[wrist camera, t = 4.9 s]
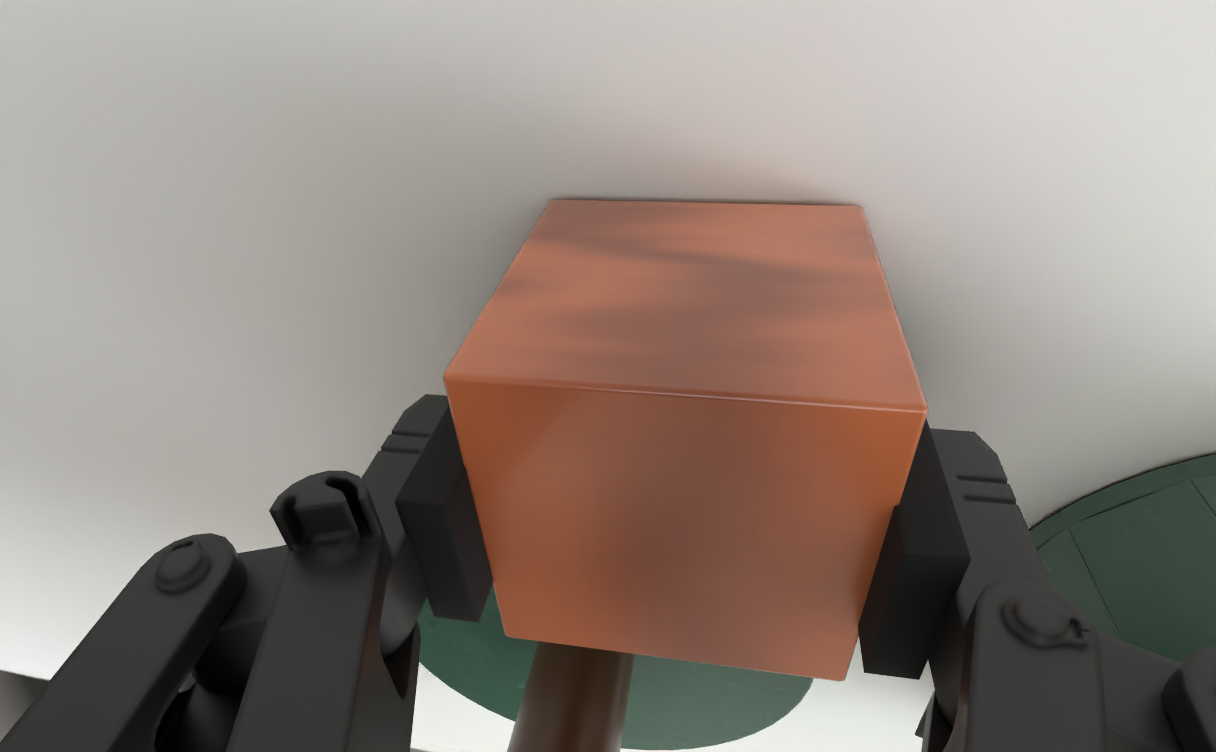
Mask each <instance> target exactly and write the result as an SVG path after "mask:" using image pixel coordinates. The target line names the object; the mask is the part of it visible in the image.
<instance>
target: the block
mask: <svg viewBox="0 0 1216 752" xmlns="http://www.w3.org/2000/svg"><path fill="white" fill-rule="evenodd" d="M443 381H444V385H445V389H446V393H447V397H448V401H449V406H450V410H451V414H452V418H453V422H454V426H455V430H456V434H457V439H458V443H459V447H460V451H461V455H462V459H463V463H464V466H465V468H466V472H467V476H468V480H469V484H470V488H471V493H472V497H473V501H474V505H475V509H476V513H477V517H478V522H479V526H480V530H481V534H482V538H483V542H484V546H485V551H486V555H487V559H488V563H489V567H490V571H491V575H492V580H493V587H494V592H495V596H496V600H497V604H498V608H499V612H500V616H501V620H502V625H503V629H504V633H505V635H506V636H508V637H512V638H520V639H527V640H535V641H542V642H550V643H557V644H565V645H572V646H580V647H587V648H595V649H602V650H610V651H617V652H625V653H632V654H639V655H647V656H654V657H662V658H669V659H677V660H684V661H692V662H699V663H707V664H714V665H722V666H729V667H737V668H744V669H752V670H759V671H767V672H774V673H782V674H789V675H797V676H804V677H812V678H819V679H827V680H834V681H844V680H845V678H846V675H847V671H848V668H849V665H850V662H851V659H852V655H853V652H854V649H855V646H856V642H857V639H858V636H859V632H858V624H859V621H860V618H861V614H862V611H863V608H864V604H865V601H866V598H867V594H868V591H869V588H870V585H871V581H872V578H873V575H874V571H875V568H876V565H877V561H878V558H879V555H880V552H881V548H882V545H883V542H884V538H885V535H886V532H887V528H888V525H889V522H890V518H891V515H892V512H893V509H894V506H897V505H899V503H900V500H901V497H902V494H903V490H904V487H905V484H906V481H907V478H908V474H909V471H910V468H911V465H912V461H913V458H914V455H915V452H916V448H917V445H918V442H919V439H920V435H921V432H922V429H923V426H924V423H925V419H926V416H927V413H928V406H927V403H926V400H925V397H924V394H923V391H922V388H921V385H920V382H919V379H918V376H917V373H916V370H915V367H914V363H913V360H912V357H911V354H910V351H909V348H908V345H907V342H906V339H905V336H904V333H903V330H902V327H901V324H900V321H899V318H898V315H897V312H896V309H895V306H894V303H893V300H892V296H891V293H890V290H889V287H888V284H887V281H886V278H885V275H884V272H883V269H882V266H881V263H880V260H879V257H878V254H877V251H876V248H875V245H874V242H873V239H872V236H871V233H870V229H869V226H868V223H867V220H866V217H865V214H864V211H863V208H862V207H860V206H830V205H784V204H738V203H692V202H646V201H600V200H551V201H549V203H548V205H547V206H546V208H545V210H544V211H543V213H542V214H541V216H540V218H539V219H538V221H537V223H536V224H535V226H534V228H533V229H532V231H531V232H530V234H529V236H528V237H527V239H526V241H525V242H524V244H523V245H522V247H521V249H520V250H519V252H518V254H517V255H516V257H515V258H514V260H513V262H512V263H511V265H510V267H509V268H508V270H507V271H506V273H505V275H504V276H503V278H502V280H501V281H500V283H499V284H498V286H497V288H496V289H495V291H494V293H493V294H492V296H491V297H490V299H489V301H488V302H487V304H486V306H485V307H484V309H483V310H482V312H481V314H480V315H479V317H478V319H477V320H476V322H475V323H474V325H473V327H472V328H471V330H470V332H469V333H468V335H467V336H466V338H465V340H464V341H463V343H462V345H461V346H460V348H459V350H458V351H457V353H456V354H455V356H454V358H453V359H452V361H451V363H450V364H449V366H448V367H447V369H446V371H445V372H444V376H443Z"/></svg>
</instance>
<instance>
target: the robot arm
mask: <svg viewBox="0 0 1216 752" xmlns="http://www.w3.org/2000/svg"><path fill="white" fill-rule="evenodd" d="M381 448H382V449H381V451H378V453H377V455H376V456H375V458H374V459H373V461H372V462H371V464H370V466H369V467H368V469H367V470H366V472H365V473H364V475H363V476H362V478H360V477H359V476H357V475H355V474H352V473H349V472H347V471H325V472H321V473H318V474H314V475H310V476H308V477H306V478H304V479H302V480H300V481H298V482H296V483H294V484H292V485H291V486H290V487H289V488H287V489H286V490H285V491H284V492H283V493H282V494H280V495H279V496H278V497H277V499H276V501H275V502H274V504H273V505H272V507H271V509H270V510H269V511H270V513H271V515H272V517H273V519H274V521H275V523H276V525H277V527H278V529H279V531H280V533H281V535H282V537H283V539H284V541H285V542H286V544H287V545H284V546H279V547H273V548H267V549H261V550H255V551H249V552H243V553H237V552H236V550H235V549H234V547H233V545H232V544H231V543H230V542H229V541H228V540H227V539H226V538H225V537H223V536H219V535H215V534H212V533H209V534H199V535H192V536H189V537H186V538H183V539H181V540H178V541H175V542H173V543H171V544H170V545H168V546H166V547H165V548H163V549H162V550H160V551H158V552H157V553H155V554H154V555H153V556H152V557H151V558H150V559H149V560H148V561H147V562H146V563H145V564H144V565H143V566H142V567H141V568H140V569H139V570H138V572H137V573H136V574H135V575H134V577H133V578H132V579H131V580H130V582H129V583H128V584H127V585H126V587H125V588H124V589H123V590H122V591H121V593H120V594H119V595H118V596H117V598H116V599H115V600H114V601H113V603H112V604H111V605H110V606H109V608H108V609H107V610H106V611H105V613H104V614H103V615H102V616H101V618H100V619H99V620H98V621H97V623H96V624H95V625H94V626H93V628H92V629H91V630H90V631H89V633H88V634H87V635H86V636H85V638H84V639H83V640H82V641H81V642H80V644H79V645H78V646H77V647H76V649H75V650H74V651H73V652H72V654H71V655H70V656H69V657H68V659H67V660H66V661H65V662H64V664H63V665H62V666H61V667H60V669H59V670H58V671H57V672H56V674H55V675H54V676H53V677H52V679H51V680H50V681H49V682H48V684H47V685H46V686H45V687H44V689H43V690H42V691H41V692H40V693H39V695H38V696H37V697H36V699H35V700H34V701H33V702H32V704H31V705H30V706H29V707H28V708H27V710H26V711H25V712H24V713H23V715H22V716H21V717H20V718H19V720H18V721H17V722H16V723H15V725H14V726H13V727H12V728H11V730H10V731H9V732H8V733H7V735H6V736H5V737H4V738H3V739H2V741H1V742H0V752H410V744H411V734H412V724H413V714H414V705H415V695H416V685H417V675H418V666H419V656H420V646H421V635H420V627H419V624H418V622H417V618H418V616H419V614H420V611H421V609H422V607H423V605H424V602H425V600H426V598H428V601H429V604H430V607H431V610H432V612H433V615H434V617H438V618H446V619H454V620H461V621H469V622H477V623H479V620H480V617H481V614H482V611H483V609H484V606H485V603H486V600H487V598H488V595H489V592H490V589H491V587H492V584H493V580H492V575H491V571H490V567H489V563H488V559H487V555H486V551H485V546H484V542H483V538H482V534H481V530H480V526H479V522H478V517H477V513H476V509H475V505H474V501H473V497H472V493H471V488H470V484H469V480H468V476H467V472H466V468H465V466H464V463H463V459H462V455H461V451H460V447H459V443H458V439H457V434H456V430H455V426H454V422H453V418H452V414H451V410H450V406H449V401H448V397H447V396H443V395H429V394H426V395H424V396H423V397H422V398H421V399H419V400H418V401H417V402H415V403H414V404H413V405H411V406H410V407H409V408H408V409H406V410H405V411H404V412H403V414H402V416H401V417H400V419H399V420H398V422H397V423H396V425H395V426H394V428H393V430H392V434H391V435H389V436H388V437H387V439H386V441H385V442H384V444H383V445H382V447H381ZM858 632H859V639H860V646H861V653H862V661H863V668H864V673H871V674H879V675H887V676H894V677H902V678H910V679H917V680H919V679H920V676H921V674H922V672H923V670H924V667H925V665H926V663H927V660H929V665H930V669H931V674H932V678H933V682H934V687H935V691H934V693H933V695H932V697H931V699H930V701H929V703H928V705H927V708H926V710H925V712H924V714H923V716H922V718H921V720H920V723H919V725H918V728H917V730H916V732H915V735H916V736H919V737H921V738H923V743H922V751H921V752H1216V647H1204V648H1202V649H1200V650H1198V651H1196V652H1194V653H1192V654H1190V655H1188V656H1187V658H1186V659H1185V660H1184V661H1183V662H1182V663H1181V662H1179V661H1176V660H1173V659H1170V658H1168V657H1165V656H1162V655H1159V654H1156V653H1154V652H1151V651H1148V650H1145V649H1143V648H1140V647H1137V646H1134V645H1132V644H1129V643H1126V642H1123V641H1121V640H1119V639H1116V638H1114V637H1112V636H1110V635H1107V634H1105V633H1103V632H1101V631H1100V630H1098V629H1097V628H1095V626H1094V624H1093V623H1092V621H1091V620H1090V619H1089V618H1088V616H1087V615H1086V614H1085V613H1084V611H1083V610H1082V609H1081V608H1080V606H1079V605H1077V604H1076V603H1075V602H1073V601H1072V600H1071V599H1069V598H1068V597H1067V596H1065V595H1064V594H1063V593H1061V592H1060V591H1058V590H1056V589H1054V587H1053V586H1052V584H1051V582H1050V580H1049V577H1048V575H1047V573H1046V570H1045V568H1044V566H1043V563H1042V561H1041V558H1040V556H1039V554H1038V551H1037V549H1036V546H1035V544H1034V542H1033V539H1032V537H1031V535H1030V532H1029V530H1028V527H1027V525H1026V523H1025V520H1024V518H1023V515H1022V513H1021V511H1020V508H1019V506H1018V505H1016V499H1015V496H1014V494H1013V492H1012V489H1011V487H1010V484H1007V477H1006V475H1005V473H1004V470H1003V468H1002V465H1001V463H1000V461H999V458H998V456H997V454H996V453H995V452H994V451H993V450H992V449H991V448H990V447H989V446H988V445H987V444H986V443H985V442H984V441H983V440H982V439H981V438H980V437H979V436H978V435H977V434H976V433H975V432H970V431H956V430H943V429H930V428H929V425H928V422H927V418H926V419H925V423H924V426H923V429H922V432H921V435H920V439H919V442H918V445H917V448H916V452H915V455H914V458H913V461H912V465H911V468H910V471H909V474H908V478H907V481H906V484H905V487H904V490H903V494H902V497H901V500H900V503H899V505H897V506H894V509H893V512H892V515H891V518H890V522H889V525H888V528H887V532H886V535H885V538H884V542H883V545H882V548H881V552H880V555H879V558H878V561H877V565H876V568H875V571H874V575H873V578H872V581H871V585H870V588H869V591H868V594H867V598H866V601H865V604H864V608H863V611H862V614H861V618H860V621H859V624H858Z"/></svg>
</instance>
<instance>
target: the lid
mask: <svg viewBox="0 0 1216 752" xmlns="http://www.w3.org/2000/svg"><path fill="white" fill-rule="evenodd" d="M417 622H418V624H419V627H420V635H421V646H420V656H419V662H420V663H421V664H422V665H423V666H424V667H425V668H427V669H428V670H429V671H430V672H431V673H432V674H433V675H435V676H436V677H437V678H439V679H440V680H441V681H443V682H444V683H445V684H447V685H448V686H449V687H451V688H452V689H454V690H455V691H457V692H459V693H460V694H462V695H463V696H465V697H466V698H468V699H470V700H472V701H473V702H475V703H477V704H479V705H481V706H483V707H484V708H486V709H488V710H490V711H492V712H495V713H497V714H499V715H501V716H503V717H505V718H508V719H510V720H512V721H515V726H514V729H513V733H512V736H511V740H510V743H509V747H508V750H507V752H620V748H624V749H639V750H679V749H693V748H700V747H706V746H713V745H718V744H722V743H726V742H730V741H734V740H738V739H740V738H743V737H746V736H749V735H752V734H754V733H757V732H759V731H761V730H763V729H765V728H767V727H769V726H771V725H773V724H774V723H776V722H777V721H778V720H780V719H781V718H783V717H784V716H786V715H787V714H788V713H789V712H790V711H791V710H792V709H793V708H795V707H796V706H797V705H798V704H799V703H800V702H801V700H802V699H803V697H804V696H805V694H806V693H807V691H808V690H809V688H810V686H811V684H812V681H813V679H814V678H812V677H804V676H797V675H789V674H782V673H774V672H767V671H759V670H752V669H744V668H737V667H729V666H722V665H714V664H707V663H699V662H692V661H684V660H677V659H669V658H662V657H654V656H647V655H639V654H632V653H625V652H617V651H610V650H602V649H595V648H587V647H580V646H572V645H565V644H557V643H550V642H542V641H535V640H527V639H520V638H512V637H508V636H506V635H505V633H504V629H503V625H502V620H501V616H500V612H499V608H498V604H497V600H496V596H495V592H494V587H493V584H492V587H491V589H490V592H489V595H488V598H487V600H486V603H485V606H484V609H483V611H482V614H481V617H480V620H479V623H477V622H469V621H461V620H454V619H446V618H438V617H434V615H433V612H432V610H431V607H430V604H429V601H428V598H426V600H425V602H424V605H423V607H422V609H421V611H420V614H419V616H418V618H417Z"/></svg>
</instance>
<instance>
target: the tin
mask: <svg viewBox="0 0 1216 752" xmlns="http://www.w3.org/2000/svg"><path fill="white" fill-rule="evenodd" d="M1029 532H1030V535H1031V537H1032V539H1033V542H1034V544H1035V546H1036V549H1037V551H1038V554H1039V556H1040V558H1041V561H1042V563H1043V566H1044V568H1045V570H1046V573H1047V575H1048V577H1049V580H1050V582H1051V584H1052V586H1053V587H1054V589H1056V590H1058V591H1060V592H1061V593H1063V594H1064V595H1065V596H1067V597H1068V598H1069V599H1071V600H1072V601H1073V602H1075V603H1076V604H1077V605H1079V606H1080V608H1081V609H1082V610H1083V611H1084V613H1085V614H1086V615H1087V616H1088V618H1089V619H1090V620H1091V621H1092V623H1093V624H1094V626H1095V628H1097V629H1098V630H1100V631H1101V632H1103V633H1105V634H1107V635H1110V636H1112V637H1114V638H1116V639H1119V640H1121V641H1123V642H1126V643H1129V644H1132V645H1134V646H1137V647H1140V648H1143V649H1145V650H1148V651H1151V652H1154V653H1156V654H1159V655H1162V656H1165V657H1168V658H1170V659H1173V660H1176V661H1179V662H1181V663H1182V662H1183V661H1184V660H1185V659H1186V658H1187V656H1188V655H1190V654H1192V653H1194V652H1196V651H1198V650H1200V649H1202V648H1204V647H1216V454H1215V455H1210V456H1205V457H1200V458H1196V459H1193V460H1189V461H1185V462H1182V463H1178V464H1174V465H1171V466H1167V467H1164V468H1160V469H1156V470H1153V471H1150V472H1148V473H1145V474H1142V475H1139V476H1137V477H1134V478H1131V479H1128V480H1125V481H1123V482H1120V483H1117V484H1114V485H1112V486H1110V487H1108V488H1106V489H1103V490H1101V491H1099V492H1097V493H1094V494H1092V495H1090V496H1088V497H1086V498H1083V499H1081V500H1079V501H1077V502H1075V503H1074V504H1072V505H1070V506H1068V507H1067V508H1065V509H1063V510H1061V511H1059V512H1058V513H1056V514H1054V515H1052V516H1051V517H1049V518H1047V519H1046V520H1044V521H1043V522H1041V523H1040V524H1039V525H1037V526H1036V527H1034V528H1033V529H1032V530H1030V531H1029Z"/></svg>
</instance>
